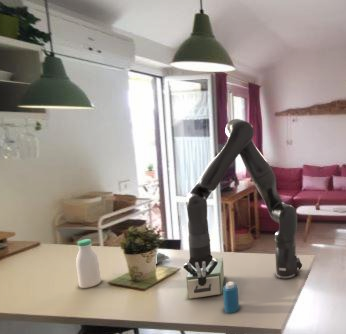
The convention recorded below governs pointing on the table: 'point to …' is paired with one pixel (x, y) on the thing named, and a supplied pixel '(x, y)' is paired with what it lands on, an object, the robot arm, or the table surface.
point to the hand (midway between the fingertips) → (202, 284)
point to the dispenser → (216, 271)
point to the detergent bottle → (230, 297)
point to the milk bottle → (87, 265)
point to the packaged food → (161, 257)
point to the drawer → (204, 287)
